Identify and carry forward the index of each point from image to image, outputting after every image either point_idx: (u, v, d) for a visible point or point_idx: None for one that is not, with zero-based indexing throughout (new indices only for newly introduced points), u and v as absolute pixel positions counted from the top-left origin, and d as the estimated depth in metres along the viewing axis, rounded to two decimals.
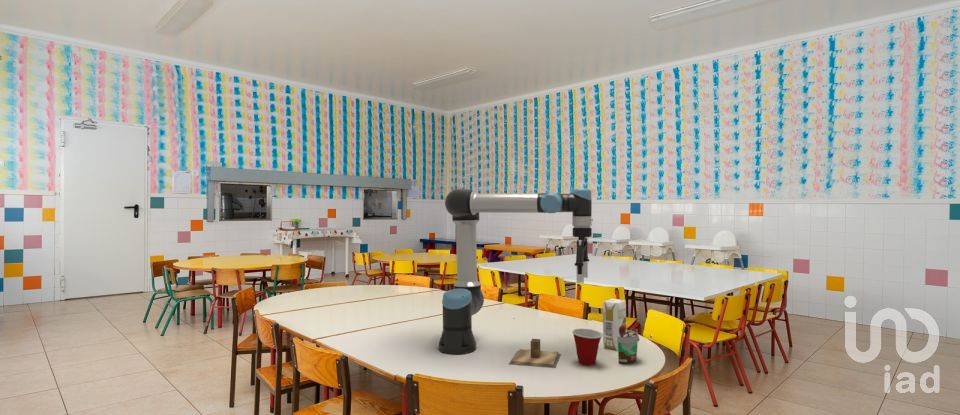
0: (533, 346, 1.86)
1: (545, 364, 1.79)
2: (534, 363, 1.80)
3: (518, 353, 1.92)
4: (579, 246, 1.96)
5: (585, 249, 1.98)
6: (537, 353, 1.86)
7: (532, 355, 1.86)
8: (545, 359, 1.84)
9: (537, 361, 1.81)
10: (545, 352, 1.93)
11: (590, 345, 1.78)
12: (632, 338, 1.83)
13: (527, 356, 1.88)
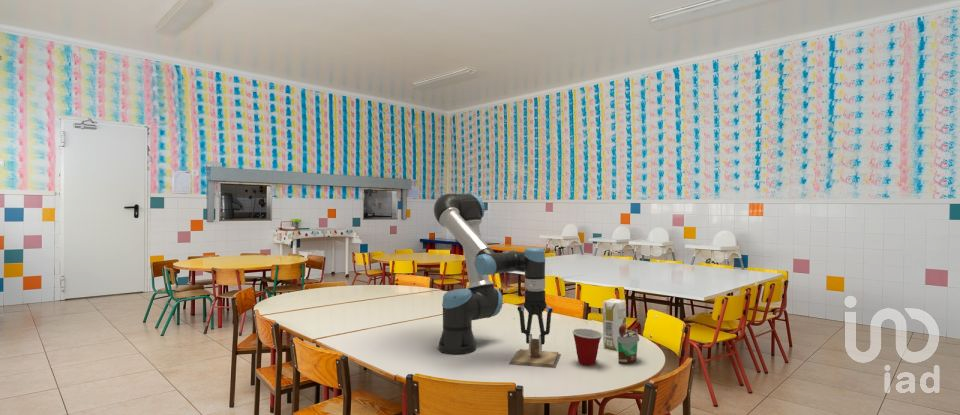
0: (533, 346, 1.86)
1: (545, 364, 1.79)
2: (534, 363, 1.80)
3: (518, 353, 1.92)
4: None
5: (529, 315, 1.87)
6: (537, 353, 1.86)
7: (532, 355, 1.86)
8: (545, 359, 1.84)
9: (537, 361, 1.81)
10: (545, 352, 1.93)
11: (590, 345, 1.78)
12: (632, 338, 1.83)
13: (527, 356, 1.88)
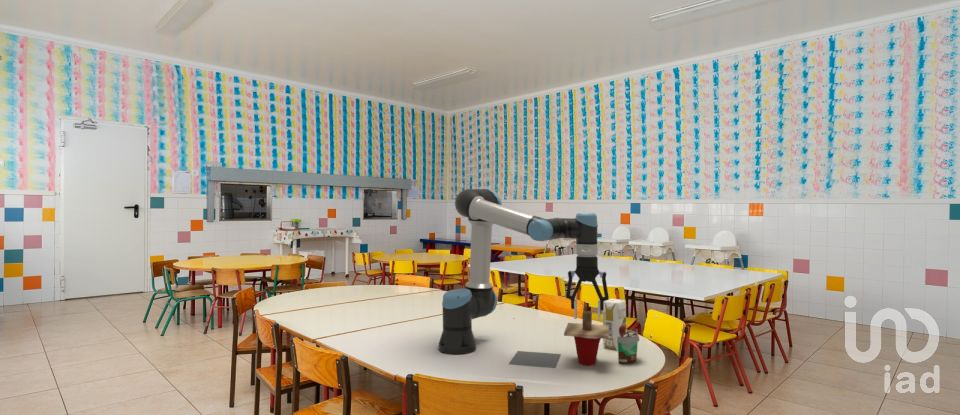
0: (586, 319, 1.81)
1: (600, 336, 1.74)
2: (588, 335, 1.75)
3: (568, 326, 1.86)
4: None
5: (579, 281, 1.81)
6: (589, 325, 1.80)
7: (584, 327, 1.81)
8: (598, 331, 1.79)
9: (591, 333, 1.76)
10: (595, 325, 1.87)
11: (590, 345, 1.78)
12: (632, 338, 1.83)
13: (578, 328, 1.83)
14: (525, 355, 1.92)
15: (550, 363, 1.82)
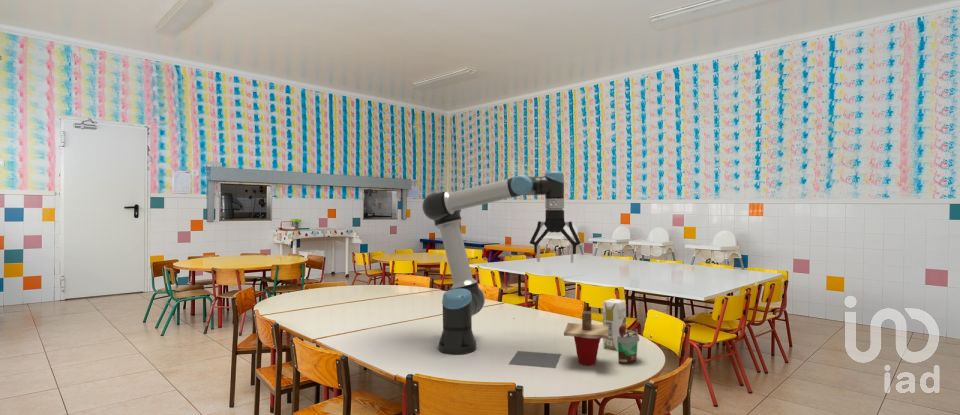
0: (585, 319, 1.81)
1: (599, 336, 1.74)
2: (588, 335, 1.75)
3: (568, 326, 1.86)
4: None
5: (545, 231, 2.04)
6: (589, 325, 1.80)
7: (584, 327, 1.81)
8: (598, 331, 1.79)
9: (591, 333, 1.76)
10: (595, 325, 1.87)
11: (590, 345, 1.78)
12: (632, 338, 1.83)
13: (578, 328, 1.83)
14: (525, 355, 1.92)
15: (550, 363, 1.82)
